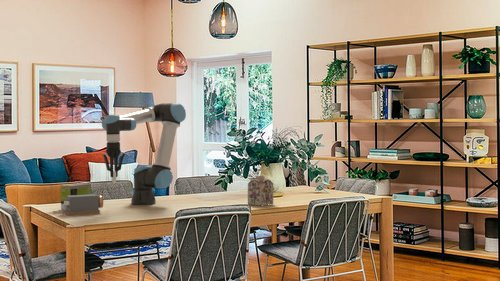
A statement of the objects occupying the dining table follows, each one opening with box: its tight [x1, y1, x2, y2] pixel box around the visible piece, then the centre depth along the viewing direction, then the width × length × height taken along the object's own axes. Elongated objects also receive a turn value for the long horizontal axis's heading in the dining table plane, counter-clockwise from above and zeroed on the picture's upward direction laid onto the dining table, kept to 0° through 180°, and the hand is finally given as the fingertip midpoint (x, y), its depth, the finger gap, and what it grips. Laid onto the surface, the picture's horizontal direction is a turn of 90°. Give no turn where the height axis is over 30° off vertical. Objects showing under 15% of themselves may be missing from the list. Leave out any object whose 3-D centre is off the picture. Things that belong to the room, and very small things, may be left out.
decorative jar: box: [247, 175, 274, 206], centre depth 417 cm, size 12×12×18 cm
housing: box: [63, 193, 101, 217], centre depth 377 cm, size 17×12×10 cm
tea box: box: [60, 182, 92, 211], centre depth 395 cm, size 15×10×15 cm, turn 141°
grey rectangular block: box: [64, 194, 104, 209], centre depth 377 cm, size 21×7×7 cm, turn 120°
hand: (114, 182), depth 386 cm, fingers closed
